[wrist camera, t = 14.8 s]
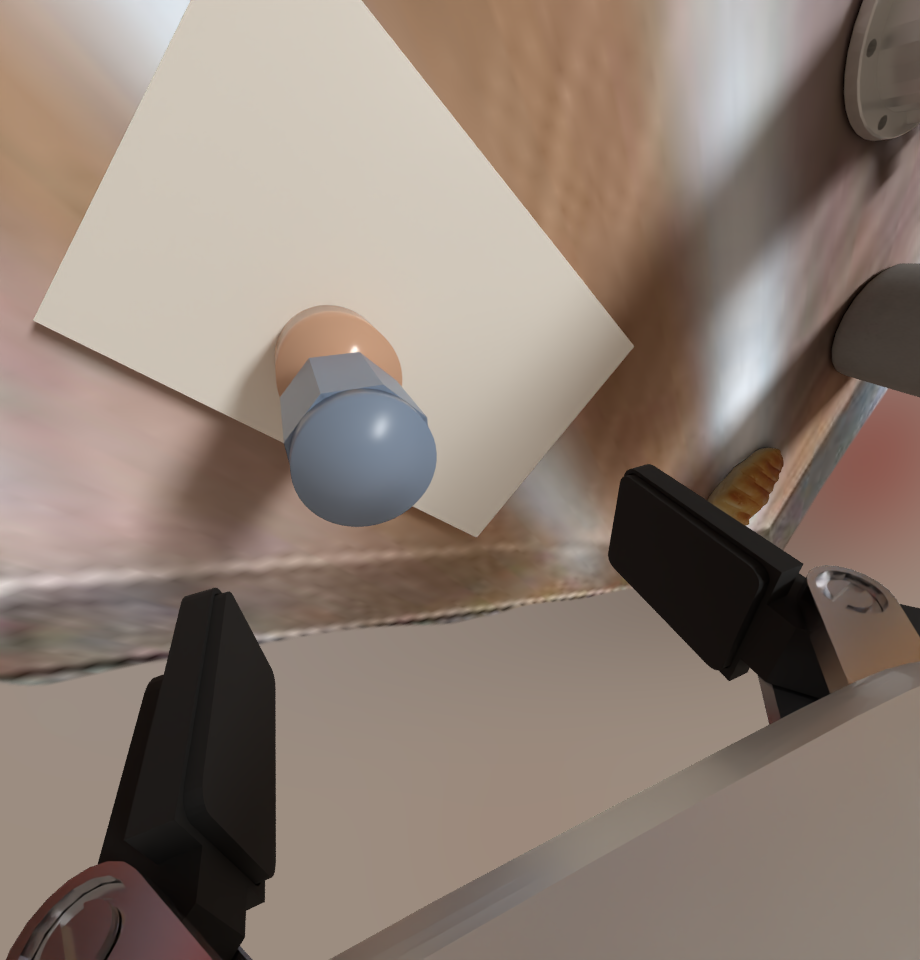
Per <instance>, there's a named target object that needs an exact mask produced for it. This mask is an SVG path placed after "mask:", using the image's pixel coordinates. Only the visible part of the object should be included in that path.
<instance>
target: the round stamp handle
mask: <svg viewBox="0 0 920 960" xmlns="http://www.w3.org/2000/svg"><path fill="white" fill-rule="evenodd" d="M355 352H360V353H362V354H363V355H364V356H365V357H367V358H368V359H369V360H371V361H372V362H373V363H375V364H376V365H377V366H378V367H380V368H381V369H382V370H384V371H385V372H386V373H387V374H389V375H390V376H391V377H393V378H394V379H395V380H396V381H397V382H398V383H399V384H400V385H401V386H402V370H401V365H400V362H399V359H398V356H397V354H396V352H395V350H394V349H393V347H392V346H391V344H390V343H389V342H388V341H387V339H386V338H385V337H384V336H383V335H382V334H381V333H380V332H379V331H378V330H377V329H376V328H375V327H373V326H372V325H371V324H370V323H369V322H368V321H367V320H366V319H365V318H364V317H362V316H361V315H359V314H358V313H356V312H354V311H352V310H350V309H347V308H344V307H340V306H335V305H319V306H315V307H311V308H308V309H305V310H303V311H301V312H299V313H298V314H296V315H295V316H294V317H292V318H291V319H290V320H289V321H288V322H287V323H286V325H285V326H284V327H283V329H282V330H281V332H280V334H279V336H278V339H277V342H276V346H275V356H274V358H275V372H276V384H277V390H278V394H279V397H281V395H282V394H283V392H284V391H285V390H286V388H287V387H288V386H289V384H290V383H291V382H292V380H293V379H294V378H295V376H296V375H297V373H298V372H299V371H300V369H301V368H302V367H303V365H304V364H305V363H306V361H307V360H308V358H313V357H321V356H329V355H338V354H346V353H355Z"/></svg>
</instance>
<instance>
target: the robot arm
mask: <svg viewBox="0 0 920 960" xmlns="http://www.w3.org/2000/svg"><path fill="white" fill-rule="evenodd" d="M844 99H845V108H846V112H847V116H848V119H849V122H850V125H851V126H852V128H853V129H854V131H855V132H856V134H858V135H859V136H860V137H862V138H863V139H865V140H871V141H878V140H886V139H892V138H895V137H898V136H901V135H903V134H905V133H907V132H908V131H910V130H912V129H913V128H915V127H916V126H917V125H918V124H919V123H920V0H863V2H862V4H861V7H860V10H859V13H858V16H857V19H856V22H855V25H854V29H853V33H852V37H851V41H850V45H849V49H848V54H847V61H846V68H845V77H844ZM608 557H609V561H610V563H611V565H612V566H613V567H614V569H615V570H616V571H617V572H618V573H619V574H620V575H621V576H622V577H623V578H624V579H625V580H626V581H627V582H628V583H629V584H630V585H631V586H632V587H633V588H634V589H635V590H636V591H637V592H638V593H639V594H640V595H641V596H642V598H643V599H644V600H645V601H646V602H647V603H648V604H649V605H650V606H651V607H652V608H653V609H654V610H655V611H656V612H657V613H658V614H659V615H660V616H661V617H662V618H663V619H664V620H665V621H666V622H667V623H668V624H669V625H670V627H671V628H673V630H674V631H675V632H676V633H677V634H678V635H679V636H680V637H681V638H682V639H683V640H684V641H685V642H686V643H687V644H688V645H689V646H690V647H691V648H692V649H693V650H694V651H695V652H696V653H697V654H698V655H699V657H701V659H702V660H703V661H704V662H705V663H706V664H707V665H708V666H710V667H711V668H713V669H715V670H719V671H720V672H721V673H722V674H723V675H724V676H725V677H726V678H727V680H729V681H730V680H732V679H734V678H737V677H739V676H741V675H743V674H745V673H747V672H748V670H749V668H751V669H752V670H753V671H754V672H755V673H757V674H758V678H759V682H760V686H761V691H762V694H763V700H764V704H765V708H766V713H767V717H768V721H769V725H768V726H766V727H764V728H762V729H760V730H758V731H756V732H755V733H753V734H751V735H749V736H747V737H745V738H743V739H741V740H739V741H738V742H735V743H734V744H731V745H730V746H728V747H726V748H724V749H722V750H720V751H718V752H716V753H714V754H712V755H710V756H708V757H706V758H704V759H703V760H701V761H699V762H697V763H695V764H693V765H691V766H689V767H687V768H685V769H684V770H682V771H680V772H678V773H676V774H674V775H672V776H670V777H668V778H666V779H664V780H663V781H661V782H659V783H657V784H655V785H653V786H652V787H649V788H647V789H645V790H644V791H642V792H640V793H638V794H636V795H634V796H632V797H630V798H628V799H627V800H625V801H623V802H621V803H619V804H617V805H615V806H613V807H611V808H609V809H607V810H605V811H604V812H602V813H600V814H598V815H596V816H594V817H592V818H590V819H588V820H587V821H585V822H583V823H581V824H579V825H577V826H575V827H573V828H571V829H569V830H567V831H566V832H564V833H562V834H560V835H558V836H556V837H554V838H552V839H551V840H549V841H547V842H545V843H543V844H541V845H539V846H537V847H536V848H534V849H532V850H530V851H528V852H526V853H524V854H523V855H520V856H519V857H517V858H515V859H513V860H511V861H509V862H507V863H506V864H504V865H502V866H500V867H498V868H496V869H494V870H492V871H491V872H489V873H487V874H485V875H483V876H481V877H479V878H477V879H475V880H473V881H472V882H470V883H468V884H466V885H464V886H462V887H460V888H459V889H457V890H455V891H453V892H451V893H449V894H447V895H446V896H443V897H442V898H440V899H438V900H436V901H434V902H432V903H430V904H428V905H427V906H425V907H423V908H421V909H419V910H418V911H416V912H414V913H413V914H410V915H409V916H407V917H405V918H403V919H402V920H400V921H398V922H396V923H394V924H393V925H391V926H389V927H387V928H385V929H384V930H382V931H380V932H379V933H376V934H375V935H373V936H371V937H369V938H367V939H366V940H364V941H362V942H360V943H358V944H357V945H355V946H353V947H351V948H349V949H348V950H346V951H344V952H342V953H340V954H338V955H337V956H335V957H333V958H332V959H329V960H920V608H915V607H910V606H906V605H902V604H899V603H898V601H897V599H896V598H895V597H894V596H893V595H892V593H891V592H890V591H889V590H888V589H887V588H885V587H884V586H883V585H882V584H880V583H879V582H877V581H876V580H874V579H872V578H870V577H868V576H866V575H864V574H862V573H859V572H857V571H854V570H851V569H847V568H843V567H839V566H828V565H825V566H819V567H815V568H813V569H812V570H810V571H809V573H808V575H807V577H806V578H805V577H804V576H802V575H801V574H799V571H800V569H801V567H802V566H803V563H801V562H800V561H798V560H797V559H795V558H793V557H792V556H791V555H789V554H787V553H786V552H784V551H783V550H781V549H780V548H778V547H777V546H775V545H774V544H772V543H771V542H769V541H768V540H766V539H765V538H763V537H762V536H760V535H759V534H757V533H756V532H754V531H752V530H751V529H749V528H748V527H746V526H745V525H743V524H742V523H740V522H739V521H737V520H736V519H734V518H733V517H731V516H730V515H728V514H727V513H725V512H724V511H722V510H720V509H719V508H717V507H716V506H714V505H713V504H711V503H710V502H708V501H707V500H705V499H704V498H702V497H701V496H699V495H698V494H696V493H695V492H693V491H692V490H690V489H688V488H687V487H685V486H684V485H682V484H681V483H679V482H678V481H676V480H675V479H673V478H672V477H670V476H669V475H667V474H666V473H664V472H663V471H661V470H660V469H658V468H656V467H655V466H653V465H651V464H647V465H643V466H640V467H636V468H633V469H629V470H627V471H626V473H625V475H624V477H623V478H622V479H621V481H620V486H619V492H618V498H617V504H616V510H615V516H614V522H613V528H612V534H611V540H610V546H609V552H608ZM275 761H276V760H275V679H274V674H273V671H272V669H271V667H270V665H269V663H268V661H267V659H266V657H265V655H264V653H263V652H262V650H261V648H260V646H259V644H258V642H257V640H256V638H255V636H254V634H253V632H252V631H251V629H250V627H249V625H248V623H247V621H246V619H245V617H244V615H243V613H242V612H241V610H240V608H239V606H238V604H237V602H236V600H235V598H234V596H233V595H232V593H231V592H225V593H221V591H220V590H219V589H218V588H213V589H209V590H206V591H202V592H199V593H195V594H192V595H188V596H185V597H184V598H183V600H182V602H181V606H180V610H179V614H178V618H177V622H176V626H175V631H174V635H173V639H172V643H171V647H170V651H169V655H168V660H167V664H166V668H165V672H164V675H161V676H158V677H156V678H153V679H152V680H151V681H150V682H149V684H148V686H147V688H146V691H145V693H144V697H143V700H142V704H141V708H140V711H139V715H138V719H137V722H136V726H135V730H134V734H133V737H132V741H131V744H130V748H129V752H128V755H127V759H126V762H125V766H124V770H123V773H122V777H121V781H120V785H119V788H118V792H117V796H116V799H115V803H114V807H113V810H112V814H111V817H110V821H109V825H108V829H107V832H106V836H105V840H104V843H103V847H102V850H101V854H100V858H99V862H98V865H95V866H92V867H89V868H88V869H86V870H84V871H83V872H81V873H79V874H78V875H76V876H75V877H73V878H71V879H70V880H68V881H67V882H66V883H65V884H64V885H63V886H61V887H60V888H59V889H58V890H57V891H56V892H55V893H54V894H52V896H50V897H49V898H48V899H47V900H46V901H45V902H44V903H43V905H42V906H41V907H40V908H39V909H38V911H37V912H36V913H35V914H34V915H33V916H32V918H31V919H30V920H29V921H28V922H27V924H26V925H25V927H24V929H23V930H22V932H21V933H20V935H19V937H18V938H17V940H16V941H15V943H14V944H13V946H12V948H11V949H10V951H9V953H8V956H7V958H6V960H252V959H251V958H250V956H249V955H248V954H247V953H246V952H245V951H244V950H243V949H242V948H241V947H240V944H241V943H242V941H243V939H244V938H245V920H246V919H245V918H246V910H248V909H250V908H252V907H255V906H257V905H259V904H261V903H263V902H265V880H267V879H269V878H271V877H272V876H273V875H274V872H275V863H276V825H275V824H276V811H275V810H276V805H275V804H276V794H275V793H276V788H275V786H276V785H275V784H276V778H275V777H276V776H275V775H276V774H275V771H276V769H275V768H276V767H275V766H276V763H275Z"/></svg>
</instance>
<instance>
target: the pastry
mask: <svg viewBox="0 0 920 960" xmlns="http://www.w3.org/2000/svg"><path fill="white" fill-rule="evenodd" d="M782 467H783V457H782V455H781V452H780V450H778V449H776V448H762V449H759V450H757V451H755V452H754V453H752V454H751V456H750V457H748V458H747V459H745V460H744V461H743V462H741V463H740V464H738V465H737V466H735V467H734V468H733V469H732V471H731V472H730V473H729V474H728V475H727V476H726V478H725V479H724V480H723V481H722V482H721V483H720V484H719V485H718V486H717V487H716V489H715V490H714V491H713V492H712V494H711V495H710V496H709V498H708V502H710V503H711V504H713V505H714V506H716V507H717V508H719V509H720V510H722V511H724V512H725V513H727V514H728V515H730V516H731V517H733V518H734V519H736V520H737V521H739V522H740V523H742V524H743V525H748V524H749V519H750V518H751V517H752V516H754V514H756V513H757V512H758V511H759V510H760V509H761V508H762V507H763V506H764V505H765V504H767V502H768V500H769V494H770V493H771V492H772V491H773V487H774V484H775V483H776V482H777V481H778V479H779V473H780V472H781V469H782Z"/></svg>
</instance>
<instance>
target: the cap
mask: <svg viewBox="0 0 920 960" xmlns="http://www.w3.org/2000/svg"><path fill="white" fill-rule="evenodd" d="M280 405H281V416H282V428H283V439H284V445H285V449H286V452H287V456H288V460H289V464H290V471H291V477H292V482H293V485H294V488H295V491H296V493H297V494H298V496H299V498H300V499H301V501H302V502H303V503H304V504H305V506H307V507H308V508H309V509H310V510H311V511H312V512H313V513H315V514H316V515H317V516H319V517H321V518H323V519H325V520H327V521H329V522H332V523H335V524H339V525H344V526H352V527H362V526H371V525H376V524H380V523H383V522H386V521H389V520H391V519H394V518H395V517H397V516H399V515H401V514H403V513H404V512H405V511H407V510H408V509H410V508H411V507H412V506H413V505H414V504H415V503H416V502H417V501H418V500H419V499H420V498H421V497H422V496H423V494H424V493H425V492H426V490H427V488H428V487H429V485H430V483H431V480H432V478H433V475H434V472H435V468H436V462H437V452H436V445H435V441H434V437H433V435H432V433H431V431H430V429H429V427H428V421H427V417H426V415H425V414H424V413H423V412H422V410H421V409H420V408H419V407H418V406H417V404H416V403H415V402H414V401H413V400H412V398H411V397H410V396H409V395H408V394H407V392H406V391H405V390H404V389H403V388H402V386H401V385H400V384H399V383H398V382H397V381H396V380H395V379H394V378H393V377H391V376H390V375H389V374H387V373H386V372H385V371H384V370H382V369H381V368H380V367H378V366H377V365H376V364H375V363H373V362H372V361H371V360H369V359H368V358H367V357H365V356H364V355H363V354H362V353H360V352H355V353H346V354H338V355H329V356H321V357H313V358H308V360H307V361H306V363H305V364H304V365H303V367H302V368H301V369H300V371H299V372H298V373H297V375H296V376H295V378H294V379H293V380H292V382H291V383H290V384H289V386H288V387H287V388H286V390H285V391H284V392H283V394H282V395H281V397H280Z"/></svg>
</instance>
